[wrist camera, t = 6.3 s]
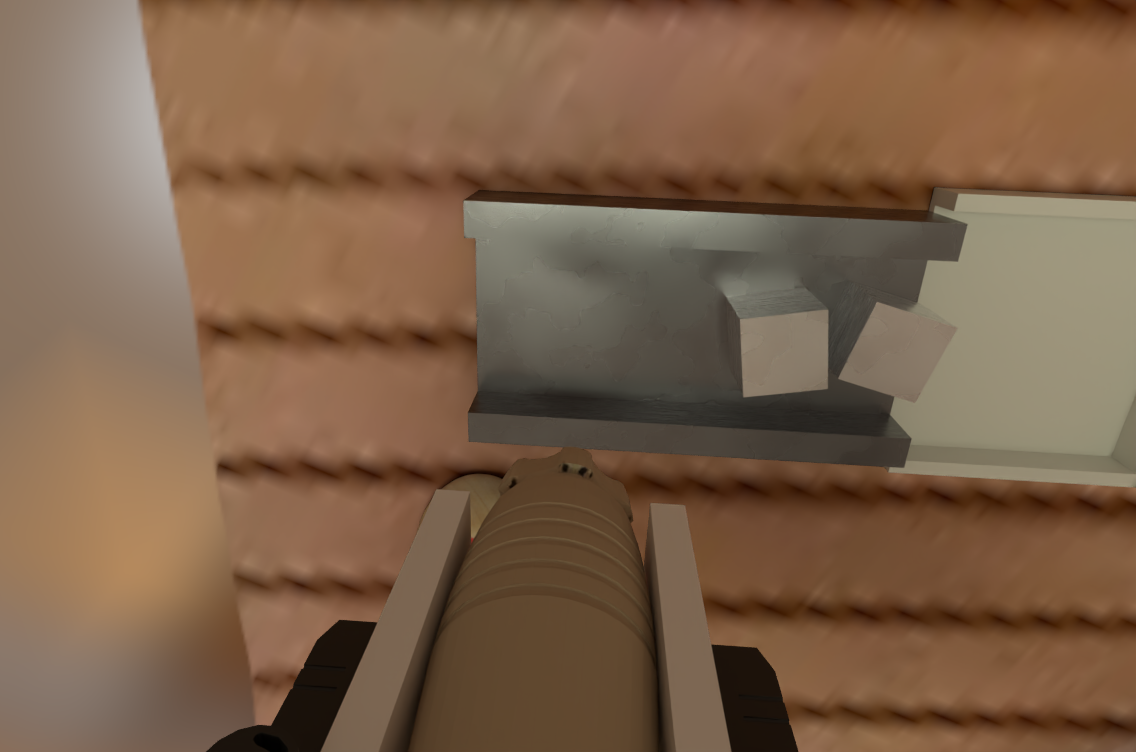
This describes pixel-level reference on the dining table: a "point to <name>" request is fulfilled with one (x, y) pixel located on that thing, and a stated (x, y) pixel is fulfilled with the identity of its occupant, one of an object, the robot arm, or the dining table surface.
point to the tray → (1031, 342)
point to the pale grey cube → (885, 341)
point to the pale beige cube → (778, 342)
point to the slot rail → (675, 321)
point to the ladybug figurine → (476, 496)
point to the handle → (546, 624)
